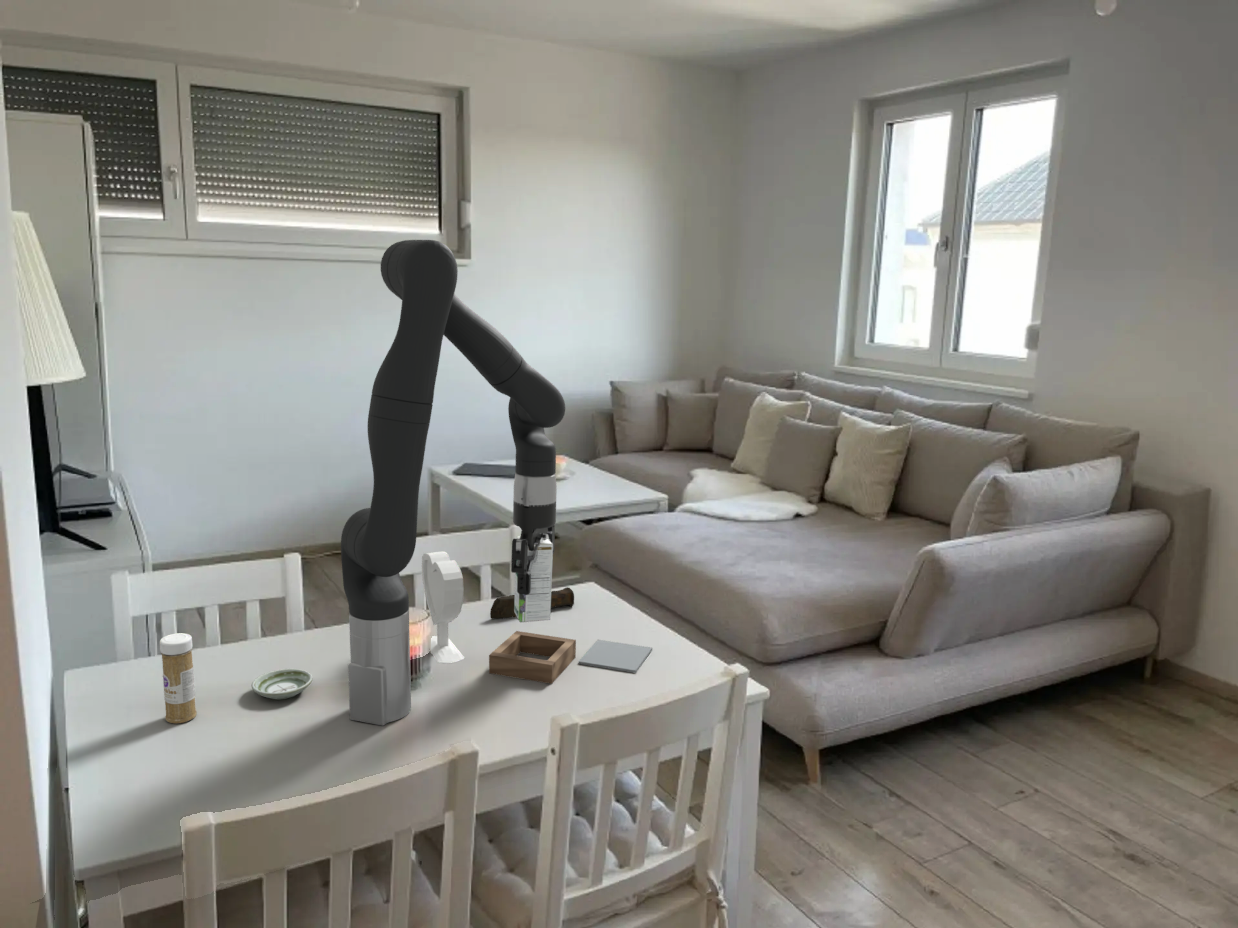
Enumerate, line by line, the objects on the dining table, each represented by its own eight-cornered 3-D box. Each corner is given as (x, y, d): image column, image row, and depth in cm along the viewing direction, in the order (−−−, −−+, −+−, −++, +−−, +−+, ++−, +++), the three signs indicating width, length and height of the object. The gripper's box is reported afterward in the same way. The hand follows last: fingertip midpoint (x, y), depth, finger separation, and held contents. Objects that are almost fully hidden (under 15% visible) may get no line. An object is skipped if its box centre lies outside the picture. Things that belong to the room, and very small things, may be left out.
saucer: (286, 676, 161) (286, 663, 161) (325, 689, 157) (324, 676, 156) (239, 696, 153) (238, 683, 153) (278, 712, 148) (277, 698, 148)
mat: (635, 672, 166) (635, 670, 166) (578, 663, 169) (578, 661, 169) (652, 649, 176) (652, 647, 176) (597, 641, 179) (597, 639, 179)
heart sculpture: (419, 636, 180) (417, 547, 176) (444, 632, 182) (443, 544, 178) (441, 666, 166) (440, 571, 163) (468, 662, 169) (467, 568, 165)
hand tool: (566, 602, 201) (567, 581, 200) (575, 607, 198) (575, 587, 197) (485, 616, 192) (485, 595, 191) (493, 622, 188) (493, 601, 188)
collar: (551, 683, 161) (552, 664, 160) (489, 673, 164) (489, 654, 164) (575, 657, 172) (575, 639, 171) (516, 648, 175) (516, 630, 175)
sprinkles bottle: (159, 720, 144) (152, 640, 141) (183, 708, 148) (177, 630, 146) (180, 727, 142) (173, 645, 140) (204, 714, 146) (198, 635, 144)
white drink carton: (513, 611, 168) (514, 535, 165) (544, 609, 170) (546, 533, 167) (519, 623, 162) (520, 544, 160) (552, 620, 164) (554, 542, 161)
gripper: (531, 488, 169) (529, 572, 173) (498, 504, 156) (496, 596, 159) (569, 492, 167) (566, 577, 170) (539, 509, 154) (537, 602, 157)
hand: (533, 586), depth 165 cm, fingers closed on white drink carton, 8 cm apart
